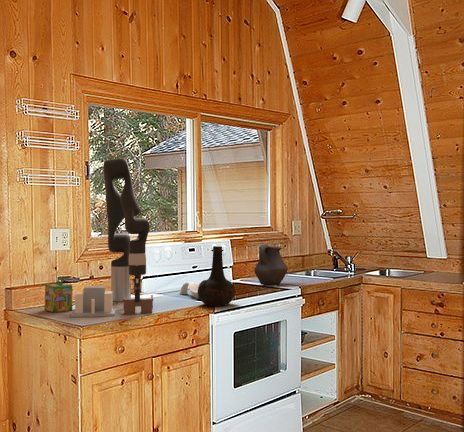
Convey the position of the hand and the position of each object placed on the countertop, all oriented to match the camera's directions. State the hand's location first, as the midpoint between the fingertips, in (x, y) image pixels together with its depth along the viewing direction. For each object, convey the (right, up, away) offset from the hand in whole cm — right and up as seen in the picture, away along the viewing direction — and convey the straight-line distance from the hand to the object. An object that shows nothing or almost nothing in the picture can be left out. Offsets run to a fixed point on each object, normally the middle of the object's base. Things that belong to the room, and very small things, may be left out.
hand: (137, 300), depth 246 cm
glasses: (-1, -5, +6) cm, 8 cm away
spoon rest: (+22, -6, +51) cm, 55 cm away
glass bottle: (+34, -6, +22) cm, 41 cm away
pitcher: (+65, -5, +97) cm, 117 cm away
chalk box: (-37, -6, +7) cm, 38 cm away
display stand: (-19, -5, -2) cm, 19 cm away
